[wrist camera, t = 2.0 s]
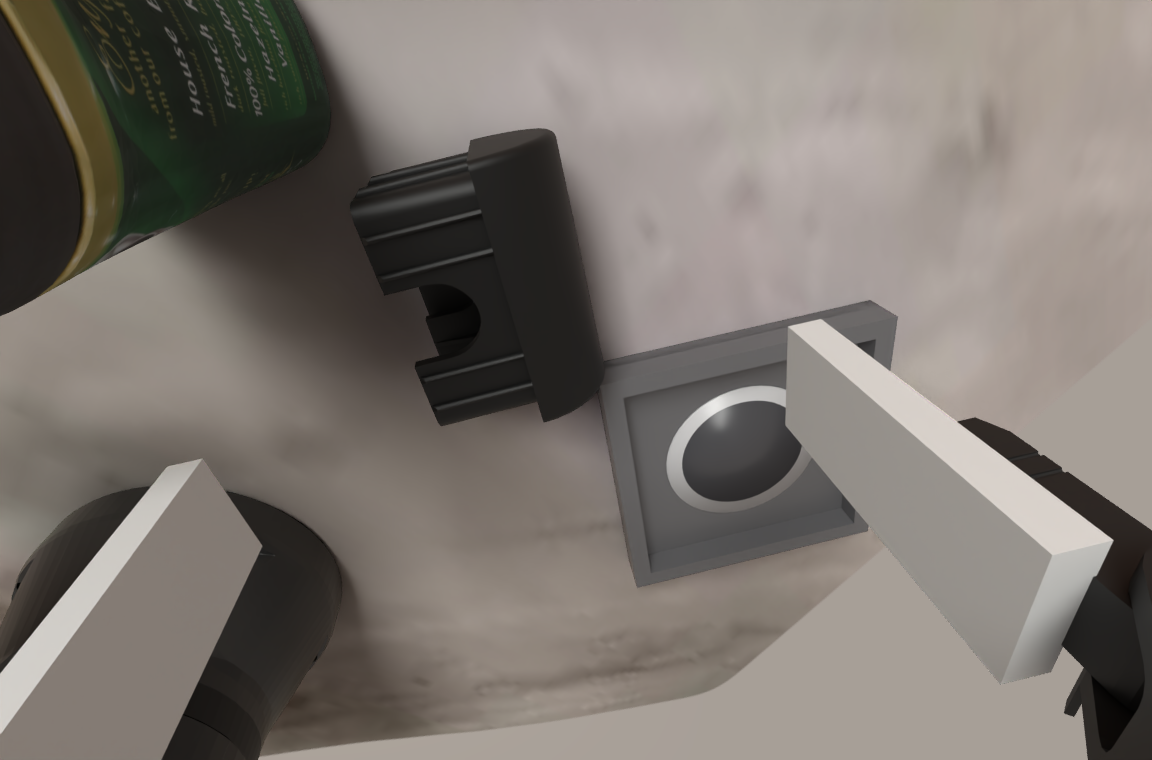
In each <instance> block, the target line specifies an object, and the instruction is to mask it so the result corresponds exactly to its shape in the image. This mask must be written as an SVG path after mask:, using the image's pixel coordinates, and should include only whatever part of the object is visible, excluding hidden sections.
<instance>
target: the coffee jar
mask: <svg viewBox="0 0 1152 760" xmlns="http://www.w3.org/2000/svg"><path fill="white" fill-rule="evenodd" d="M330 117H331V111H330V101H329V96H328V91H327V87H326V83H325V79H324V76H323V72H322V69H321V67H320V64H319V61H318V58H317V55H316V52H315V49H314V46H313V43H312V41H311V38H310V36H309V34H308V31H307V29H306V26H305V24H304V21H303V19H302V17H301V15H300V13H299V11H298V9H297V7H296V5H295V3H294V2H293V0H0V316H1V315H4V314H6V313H9V312H11V311H13V310H15V309H17V308H19V307H21V306H23V305H25V304H26V303H28V302H30V301H32V300H34V299H36V298H37V297H39V296H41V295H43V294H45V293H46V292H48V291H50V290H52V289H54V288H55V287H57V286H59V285H61V284H63V283H64V282H66V281H68V280H70V279H71V278H73V277H75V276H76V275H78V274H80V273H82V272H84V271H86V270H87V269H89V268H91V267H93V266H95V265H97V264H99V263H101V262H103V261H105V260H107V259H109V258H111V257H112V256H114V255H116V254H118V253H120V252H123V251H125V250H127V249H129V248H131V247H133V246H135V245H137V244H139V243H141V242H143V241H145V240H147V239H149V238H151V237H154V236H156V235H158V234H160V233H162V232H164V231H166V230H168V229H170V228H172V227H174V226H176V225H178V224H180V223H182V222H184V221H187V220H189V219H191V218H193V217H195V216H197V215H199V214H201V213H203V212H205V211H207V210H209V209H211V208H213V207H216V206H218V205H220V204H222V203H224V202H226V201H228V200H230V199H232V198H235V197H237V196H239V195H241V194H243V193H246V192H248V191H250V190H253V189H255V188H257V187H260V186H262V185H264V184H266V183H269V182H271V181H273V180H275V179H277V178H280V177H282V176H284V175H286V174H288V173H290V172H292V171H294V170H296V169H298V168H300V167H302V166H304V165H305V164H307V163H308V162H309V161H311V160H312V159H313V158H314V157H315V156H316V155H317V154H318V152H319V151H320V150H321V148H322V147H323V145H324V143H325V141H326V139H327V136H328V132H329V127H330Z"/></svg>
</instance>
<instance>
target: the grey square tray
mask: <svg viewBox="0 0 1152 760" xmlns="http://www.w3.org/2000/svg"><path fill="white" fill-rule="evenodd" d="M818 319H822V320H823V321H824V322H826V323H827V324H828V325H830V326H831V327H832V328H834V329H835V330H836V331H838V332H839V333H840V334H842V335H843V336H844V337H846V338H847V339H848V340H849V341H851V342H852V343H853V344H855V345H856V346H857V347H859V348H860V349H861V350H863V351H864V352H865V353H867V354H868V355H869V356H871V357H872V358H873V359H875V360H876V361H877V362H879V363H880V364H881V365H883V366H884V367H885V368H887V369H888V370H889V371H890V368H891V361H892V354H893V347H894V340H895V333H896V326H897V319H898V316H896V315H894V314H893V313H891V312H889V311H888V310H886V309H884V308H883V307H881V306H879V305H878V304H876V303H874V302H872V301H871V300H869V301H865V302H861V303H856V304H852V305H848V306H843V307H839V308H834V309H830V310H826V311H821V312H817V313H813V314H808V315H804V316H800V317H795V318H791V319H787V320H782V321H778V322H774V323H769V324H765V325H761V326H756V327H752V328H747V329H743V330H739V331H734V332H730V333H726V334H721V335H717V336H713V337H708V338H704V339H700V340H695V341H691V342H687V343H682V344H678V345H673V346H669V347H665V348H660V349H656V350H652V351H647V352H643V353H639V354H634V355H630V356H626V357H621V358H617V359H613V360H608V361H604V367H605V375H604V380H603V382H602V384H601V386H600V388H599V390H598V396H599V402H600V407H601V412H602V418H603V423H604V428H605V434H606V439H607V445H608V450H609V455H610V461H611V466H612V471H613V477H614V482H615V488H616V493H617V498H618V504H619V509H620V514H621V520H622V525H623V531H624V536H625V541H626V547H627V552H628V557H629V562H630V565H631V569H632V572H633V575H634V579H635V582H636V586H637V588H638V587H642V586H646V585H650V584H654V583H658V582H662V581H666V580H670V579H675V578H679V577H683V576H687V575H691V574H695V573H699V572H703V571H707V570H711V569H715V568H719V567H723V566H727V565H731V564H735V563H740V562H744V561H748V560H752V559H756V558H760V557H764V556H768V555H772V554H776V553H780V552H784V551H788V550H792V549H796V548H801V547H805V546H809V545H813V544H817V543H821V542H825V541H829V540H833V539H837V538H841V537H845V536H849V535H853V534H857V533H861V532H866V531H868V524H867V523H866V522H865V521H864V519H863V518H862V517H861V516H860V515H859V513H858V512H857V511H856V510H855V509H854V507H853V506H852V505H851V504H850V503H849V501H848V500H847V499H846V498H845V497H844V495H843V494H842V493H841V492H840V490H839V489H838V488H837V487H836V486H835V484H834V483H833V482H832V481H831V480H830V478H829V477H828V476H827V475H826V474H825V472H824V471H823V470H822V469H821V468H820V466H819V465H818V464H817V463H816V462H815V460H814V459H813V458H812V457H811V456H810V454H809V453H808V452H807V451H806V449H805V448H804V447H803V446H802V445H801V443H800V442H799V441H798V440H797V439H796V437H795V436H794V435H793V434H792V433H791V431H790V430H789V429H788V428H787V427H786V425H785V418H786V381H787V344H788V326H792V325H796V324H801V323H805V322H810V321H814V320H818Z"/></svg>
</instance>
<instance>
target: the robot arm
mask: <svg viewBox="0 0 1152 760" xmlns="http://www.w3.org/2000/svg"><path fill="white" fill-rule="evenodd" d="M785 425H786V427H787V428H788V429H789V430H790V431H791V433H792V434H793V435H794V436H795V437H796V439H797V440H798V441H799V442H800V443H801V445H802V446H803V447H804V448H805V449H806V451H807V452H808V453H809V454H810V456H811V457H812V458H813V459H814V460H815V462H816V463H817V464H818V465H819V466H820V468H821V469H822V470H823V471H824V472H825V474H826V475H827V476H828V477H829V478H830V480H831V481H832V482H833V483H834V484H835V486H836V487H837V488H838V489H839V490H840V492H841V493H842V494H843V495H844V497H845V498H846V499H847V500H848V501H849V503H850V504H851V505H852V506H853V507H854V509H855V510H856V511H857V512H858V513H859V515H860V516H861V517H862V518H863V519H864V521H865V522H866V523H867V524H868V525H869V527H870V528H871V529H872V530H873V531H874V533H875V534H876V535H877V536H878V538H879V539H880V540H881V541H882V542H883V544H884V545H885V546H886V547H887V548H888V550H889V551H890V552H891V553H892V554H893V556H894V557H895V558H896V559H897V560H898V561H899V563H900V564H901V565H902V566H903V568H904V569H905V570H906V571H907V572H908V574H909V575H910V576H911V577H912V579H913V580H914V581H915V582H916V583H917V585H918V586H919V587H920V588H921V589H922V591H923V592H924V593H925V594H926V595H927V596H928V598H929V599H930V600H931V601H932V602H933V604H934V605H935V606H936V607H937V608H938V610H939V611H940V612H941V613H942V614H943V616H944V617H945V618H946V619H947V621H948V622H949V623H950V624H951V626H952V627H953V628H954V629H955V630H956V632H957V633H958V634H959V635H960V636H961V638H962V639H963V640H964V641H965V642H966V643H967V645H968V646H969V647H970V648H971V650H972V651H973V652H974V653H975V654H976V656H977V657H978V658H979V659H980V660H981V662H982V663H983V664H984V665H985V666H986V668H987V669H988V670H989V671H990V673H991V674H992V675H993V676H994V677H995V678H996V680H997V681H998V682H999V683H1000V685H1001V684H1005V683H1009V682H1013V681H1017V680H1021V679H1025V678H1029V677H1032V676H1037V675H1041V674H1045V673H1049V672H1051V670H1052V669H1053V666H1054V664H1055V662H1056V660H1057V658H1058V656H1059V654H1060V652H1061V650H1062V648H1063V647H1064V648H1065V649H1066V650H1067V651H1068V652H1069V653H1070V654H1071V655H1072V656H1073V657H1074V658H1075V659H1076V660H1077V661H1078V662H1079V663H1080V664H1081V665H1082V666H1083V667H1084V668H1083V671H1082V672H1081V674H1080V676H1079V678H1078V680H1077V682H1076V684H1075V685H1074V687H1073V689H1072V691H1071V693H1070V695H1069V697H1068V699H1067V702H1066V706H1065V711H1064V713H1065V714H1068V715H1070V716H1073V717H1074V716H1075V714H1076V713H1077V711H1078V709H1079V707H1080V705H1081V704H1082V710H1083V719H1084V728H1085V738H1086V746H1087V756H1088V760H1152V530H1150V529H1149V528H1147V527H1146V526H1145V525H1143V524H1142V523H1140V522H1139V521H1138V520H1136V519H1135V518H1133V517H1132V516H1130V515H1129V514H1128V513H1126V512H1125V511H1123V510H1122V509H1120V508H1119V507H1117V506H1116V505H1115V504H1113V503H1112V502H1110V501H1109V500H1107V499H1106V498H1104V497H1103V496H1102V495H1100V494H1099V493H1097V492H1096V491H1094V490H1093V489H1092V488H1090V487H1089V486H1087V485H1086V484H1085V483H1083V482H1082V481H1080V480H1079V479H1077V478H1076V477H1074V476H1073V475H1072V474H1070V473H1069V472H1066V473H1064V472H1063V471H1062V468H1061V467H1060V466H1059V465H1057V464H1056V463H1054V462H1053V461H1052V460H1050V459H1049V458H1047V457H1046V456H1044V455H1042V456H1040V455H1039V454H1038V451H1037V450H1036V449H1034V448H1033V447H1032V446H1030V445H1029V444H1027V443H1025V442H1024V441H1023V440H1021V439H1020V438H1019V437H1017V436H1016V435H1014V434H1013V433H1011V432H1010V431H1007V430H1005V429H1003V428H1000V427H998V426H995V425H993V424H990V423H988V422H985V421H983V420H980V419H978V418H971V419H966V420H962V421H958V422H957V421H955V420H954V419H953V418H951V417H950V416H949V415H947V414H946V413H945V412H943V411H942V410H941V409H939V408H938V407H937V406H935V405H934V404H933V403H931V402H930V401H929V400H927V399H926V398H925V397H924V396H922V395H921V394H920V393H918V392H917V391H916V390H914V389H913V388H912V387H910V386H909V385H908V384H906V383H905V382H904V381H902V380H901V379H900V378H898V377H897V376H896V375H894V374H893V373H892V372H890V371H889V370H888V369H887V368H885V367H884V366H883V365H881V364H880V363H879V362H877V361H876V360H875V359H873V358H872V357H871V356H869V355H868V354H867V353H865V352H864V351H863V350H861V349H860V348H859V347H857V346H856V345H855V344H853V343H852V342H851V341H849V340H848V339H847V338H846V337H844V336H843V335H842V334H840V333H839V332H838V331H836V330H835V329H834V328H832V327H831V326H830V325H828V324H827V323H826V322H824V321H823V320H822V319H818V320H814V321H810V322H805V323H801V324H796V325H792V326H788V344H787V381H786V418H785ZM341 597H342V582H341V577H340V573H339V570H338V568H337V565H336V563H335V561H334V559H333V557H332V556H331V554H330V553H329V551H328V550H327V548H326V547H325V546H324V545H323V543H322V542H321V541H320V540H319V539H318V538H317V537H316V536H315V535H314V534H313V533H312V532H311V531H309V530H308V529H307V528H306V527H304V526H303V525H302V524H300V523H299V522H298V521H296V520H295V519H293V518H291V517H290V516H288V515H286V514H285V513H283V512H281V511H279V510H277V509H275V508H273V507H271V506H269V505H266V504H264V503H261V502H259V501H256V500H254V499H251V498H248V497H245V496H241V495H238V494H234V493H230V492H226V491H224V489H223V488H222V486H221V485H220V483H219V482H218V480H217V479H216V477H215V476H214V474H213V473H212V471H211V470H210V469H209V467H208V466H207V464H206V463H205V461H204V460H203V459H198V460H194V461H189V462H185V463H181V464H176V465H172V466H167V467H166V469H165V470H164V471H163V472H162V474H161V475H160V476H159V477H158V479H157V480H156V481H155V482H154V484H153V485H152V486H150V487H142V488H135V489H130V490H125V491H121V492H117V493H113V494H110V495H107V496H104V497H101V498H99V499H96V500H94V501H92V502H90V503H88V504H86V505H84V506H82V507H81V508H79V509H77V510H76V511H74V512H73V513H72V514H70V515H69V516H68V517H67V518H65V519H64V520H63V521H62V522H61V523H60V524H59V525H58V526H57V527H56V529H55V530H54V531H53V532H52V533H51V534H50V535H49V536H48V537H47V538H46V539H45V540H44V541H43V543H42V544H41V545H40V546H39V547H38V548H37V549H36V550H35V551H34V552H33V554H32V555H31V556H30V557H29V559H28V560H27V562H26V563H25V565H24V566H23V568H22V570H21V572H20V574H19V576H18V578H17V581H16V584H15V588H14V592H13V595H12V601H11V604H10V606H9V608H8V610H7V613H6V615H5V617H4V619H3V621H2V624H1V626H0V760H258V758H259V755H260V751H261V749H262V746H263V743H264V740H265V738H266V736H267V735H268V733H269V731H270V730H271V728H272V727H273V725H274V724H275V722H276V721H277V719H278V718H279V716H280V714H281V713H282V711H283V710H284V708H285V707H286V705H287V703H288V702H289V700H290V699H291V697H292V696H293V694H294V693H295V691H296V689H297V688H298V686H299V684H300V683H301V681H302V680H303V678H304V676H305V675H306V673H307V671H308V670H309V669H310V668H311V667H312V666H313V665H314V664H315V662H316V661H317V660H318V658H319V657H320V656H321V654H322V653H323V651H324V650H325V648H326V646H327V644H328V642H329V640H330V637H331V635H332V632H333V628H334V625H335V621H336V617H337V614H338V610H339V606H340V603H341Z"/></svg>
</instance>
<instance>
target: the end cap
mask: <svg viewBox="0 0 1152 760" xmlns="http://www.w3.org/2000/svg"><path fill="white" fill-rule="evenodd" d="M350 211H351V215H352V219H353V222H354V225H355V227H356V229H357V232H358V234H359V237H360V239H361V241H362V244H363V246H364V248H365V251H366V253H367V256H368V258H369V260H370V263H371V265H372V267H373V270H374V272H375V275H376V277H377V279H378V282H379V284H380V286H381V289H382V291H383V293H384V296H385V295H388V294H392V293H396V292H400V291H404V290H408V289H412V288H416V287H419V289H420V292H421V294H422V297H423V299H424V302H425V305H426V307H427V310H428V312H429V315H430V316H426V322H427V325H428V328H429V330H430V333H431V335H432V338H433V340H434V343H435V346H436V348H437V351H438V353H439V356H437V357H433V358H429V359H425V360H421V361H417V362H416V364H415V369H416V372H417V374H418V376H419V379H420V381H421V384H422V386H423V388H424V391H425V393H426V395H427V398H428V400H429V403H430V405H431V407H432V410H433V412H434V414H435V417H436V419H437V421H438V423H439V425H440V426H445V425H448V424H452V423H456V422H460V421H464V420H468V419H472V418H475V417H479V416H483V415H487V414H491V413H495V412H498V411H502V410H506V409H510V408H514V407H518V406H522V405H525V404H529V403H533V402H538V405H539V408H540V412H541V415H542V418H543V422H547V421H550V420H554V419H557V418H559V417H561V416H564V415H566V414H568V413H570V412H572V411H574V410H575V409H577V408H579V407H580V406H582V405H583V404H584V403H586V402H587V401H588V400H589V399H591V398H592V397H593V395H594V394H595V393H596V392H597V391H598V390H599V388H600V386H601V384H602V382H603V380H604V375H605V367H604V362H603V358H602V353H601V348H600V343H599V339H598V334H597V329H596V324H595V320H594V315H593V310H592V305H591V301H590V296H589V291H588V286H587V282H586V277H585V272H584V268H583V263H582V258H581V253H580V249H579V244H578V239H577V234H576V230H575V225H574V220H573V215H572V211H571V206H570V201H569V197H568V192H567V187H566V182H565V178H564V173H563V168H562V163H561V159H560V154H559V149H558V144H557V140H556V136H555V134H554V133H553V132H552V131H550V130H548V129H540V128H538V129H526V130H518V131H512V132H506V133H501V134H496V135H491V136H486V137H482V138H478V139H474V140H470V146H469V151H468V152H467V153H463V154H458V155H454V156H450V157H446V158H442V159H438V160H434V161H430V162H426V163H422V164H418V165H414V166H410V167H406V168H402V169H398V170H394V171H392V172H390V173H386V174H382V175H378V176H374V177H371V179H370V181H369V183H368V185H367V186H366V187H365V188H361V189H359V190H358V192H357V194H356V197H355V198H354V199H353V200H352V201H351V203H350Z"/></svg>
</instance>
